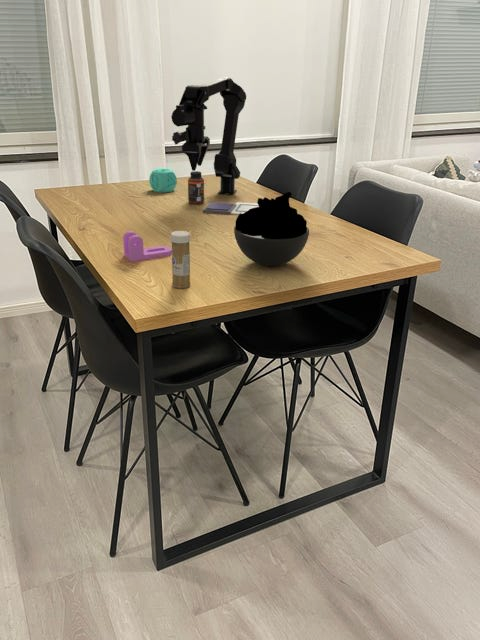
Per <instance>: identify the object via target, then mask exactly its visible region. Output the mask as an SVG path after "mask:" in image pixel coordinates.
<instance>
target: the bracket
mask: <svg viewBox="0 0 480 640" xmlns="http://www.w3.org/2000/svg"><path fill="white" fill-rule="evenodd" d="M122 239H123V241H122V242H123V253H124V254H123V255H124V257H126V259H127V260H128V261H129V262H138V261H143V260H150V259H151V260H152V259H157V257H158V258H163V257H164V256H165V257H169V256H172V246H171V247H170V246H167V245H166V246H165V245H158V246H153V247H152V246H151V247H144V240H143V239H142V237H141V236H139V235H138V234H137V233H135V232H134V231H131V230H128V231H126V232H125V233H124V234H123V237H122Z"/></svg>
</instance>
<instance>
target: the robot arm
mask: <svg viewBox="0 0 480 640" xmlns="http://www.w3.org/2000/svg"><path fill="white" fill-rule="evenodd" d="M216 94H219V96H221V97H222V99H223V102H222V105H223V108H224V110H225V117H224V118H225V119H224V124H223V125H224V126H223V132H222V140H221V146H220V151H219V152H218V153H215V154H214V162H213V170H214V174H215V177H216V178H217V177H218V178H220V189H219V191H218V192H217V193H218V195H219V194H220V195H221V194H222V195H235V194H236V192H238V191H237V189H235V188H236V187H235V183H236V180H238V179H239V178H240V177H241V171H240V169H239V168H238V166H237V158H236V155H235V153H234V151H235V142H236V137H237V129H238V123H239V115H240V113H241V112H242V111H243V109H244V108H245V103H246V100H247V94H246V92H245V90H244V89H243V87H241V85H239V84H238V83H236V82H234V80H233V78H231V77H223V76H220V77H218V78H216V79H214V80H212V81H209V82H207V83H204V84H189V85H187V86H185V89H184V91H183V94H182V96H181V99H180V100H179V103H178V104H176V105H175V109H173V111H172V114H171V122H172V123H173V125H174V126H176V127H185V126H186V127H185V130H184V131H181V132H180V131H178V130H177V131H176V132H173V134H172V135H171V138H172V139H171V141H172V142H173V143H174V145H178V144H180V143H182V142H184V143H182V145H181V152H182V153H183V154H185V155H186V156H187V158H188V160H189V164H190V167H191V170H192V171H191V172H193V171H196V169H197V166H199V167H200V166H202V164H203V161H204V160H205V156H206V154H207V152H208V149H209V145H210V144H211V142H210V141H211V138H210V137H209V136H205V130H206V125H205V110H207V109H208V106H206V105H205V103H206V102H207V101H209V100H210V97H212V96H214V95H216Z"/></svg>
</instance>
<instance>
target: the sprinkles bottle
mask: <svg viewBox="0 0 480 640" xmlns="http://www.w3.org/2000/svg"><path fill="white" fill-rule="evenodd" d="M170 241H171V248H172V254H171V275H172V283H171V285H172V287H173V288H174V289H187V288H189V287H190V286H191V279H190V278H191V251H190V243H191V234H190V231H189V232H188V231H187V230H175V231H173V232H171V233H170Z"/></svg>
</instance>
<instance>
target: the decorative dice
mask: <svg viewBox="0 0 480 640" xmlns="http://www.w3.org/2000/svg"><path fill="white" fill-rule="evenodd" d="M177 184H178V178H177V175H176V173H175V172H174V170H172V169H169V168H155V169H153V170H152V172H151V173H150V175H149V186H150V188H151V190H153V191H154V192H156V193H171V192H173V191H174V190H175V189H176V186H177Z"/></svg>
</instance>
